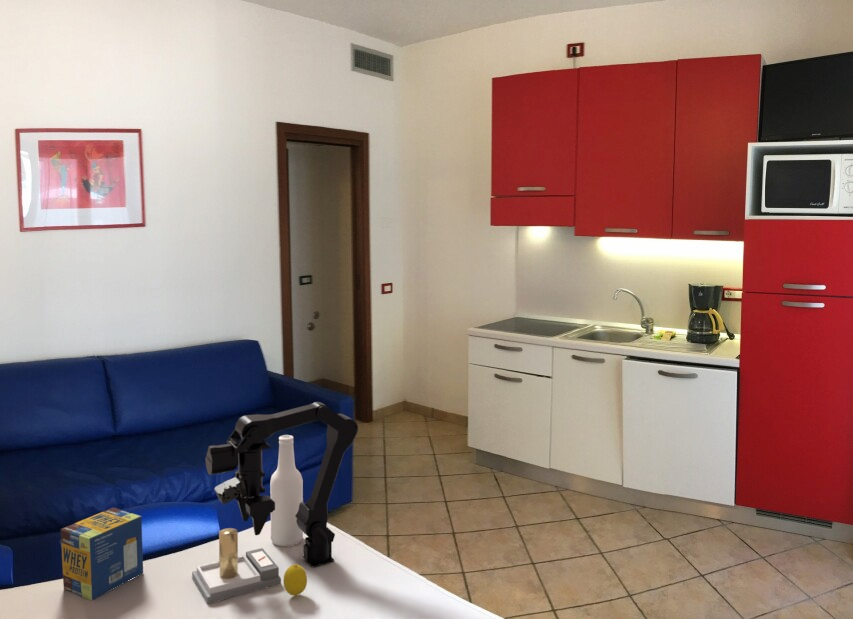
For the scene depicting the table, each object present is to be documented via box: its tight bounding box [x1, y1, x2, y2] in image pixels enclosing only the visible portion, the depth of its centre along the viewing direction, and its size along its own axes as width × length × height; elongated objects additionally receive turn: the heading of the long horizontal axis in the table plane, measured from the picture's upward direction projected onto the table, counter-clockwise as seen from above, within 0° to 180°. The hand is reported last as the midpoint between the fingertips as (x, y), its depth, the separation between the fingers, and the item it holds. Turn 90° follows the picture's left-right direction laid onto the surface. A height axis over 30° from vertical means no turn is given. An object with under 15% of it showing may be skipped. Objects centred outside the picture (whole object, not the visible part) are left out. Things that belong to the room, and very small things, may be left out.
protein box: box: [60, 507, 144, 601], centre depth 177 cm, size 10×15×16 cm
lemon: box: [283, 563, 308, 597], centre depth 172 cm, size 6×6×8 cm
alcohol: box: [269, 434, 304, 548], centre depth 200 cm, size 9×9×30 cm
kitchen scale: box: [191, 547, 282, 604], centre depth 179 cm, size 14×18×4 cm
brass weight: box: [218, 527, 239, 579], centre depth 177 cm, size 4×4×11 cm
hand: (251, 527), depth 179 cm, fingers open, 9 cm apart
